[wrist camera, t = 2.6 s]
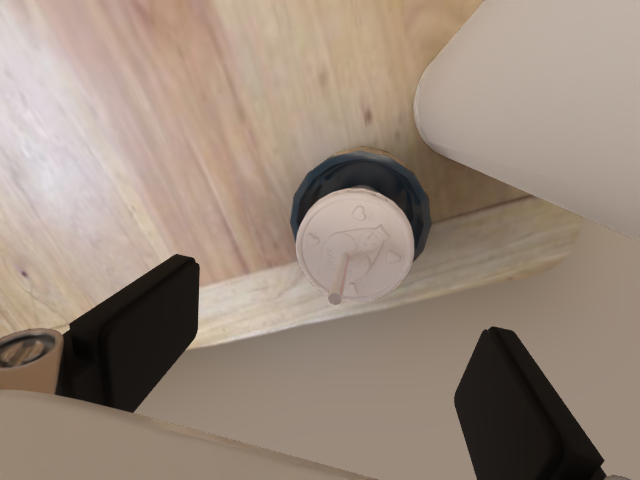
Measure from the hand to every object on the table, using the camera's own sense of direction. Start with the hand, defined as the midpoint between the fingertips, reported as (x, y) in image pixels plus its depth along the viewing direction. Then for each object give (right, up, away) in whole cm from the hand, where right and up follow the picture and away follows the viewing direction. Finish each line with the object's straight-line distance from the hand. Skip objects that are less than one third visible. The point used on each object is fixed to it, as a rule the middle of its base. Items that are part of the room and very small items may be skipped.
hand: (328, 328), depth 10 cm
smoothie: (+3, +6, +15) cm, 17 cm away
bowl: (+3, +6, +16) cm, 17 cm away
